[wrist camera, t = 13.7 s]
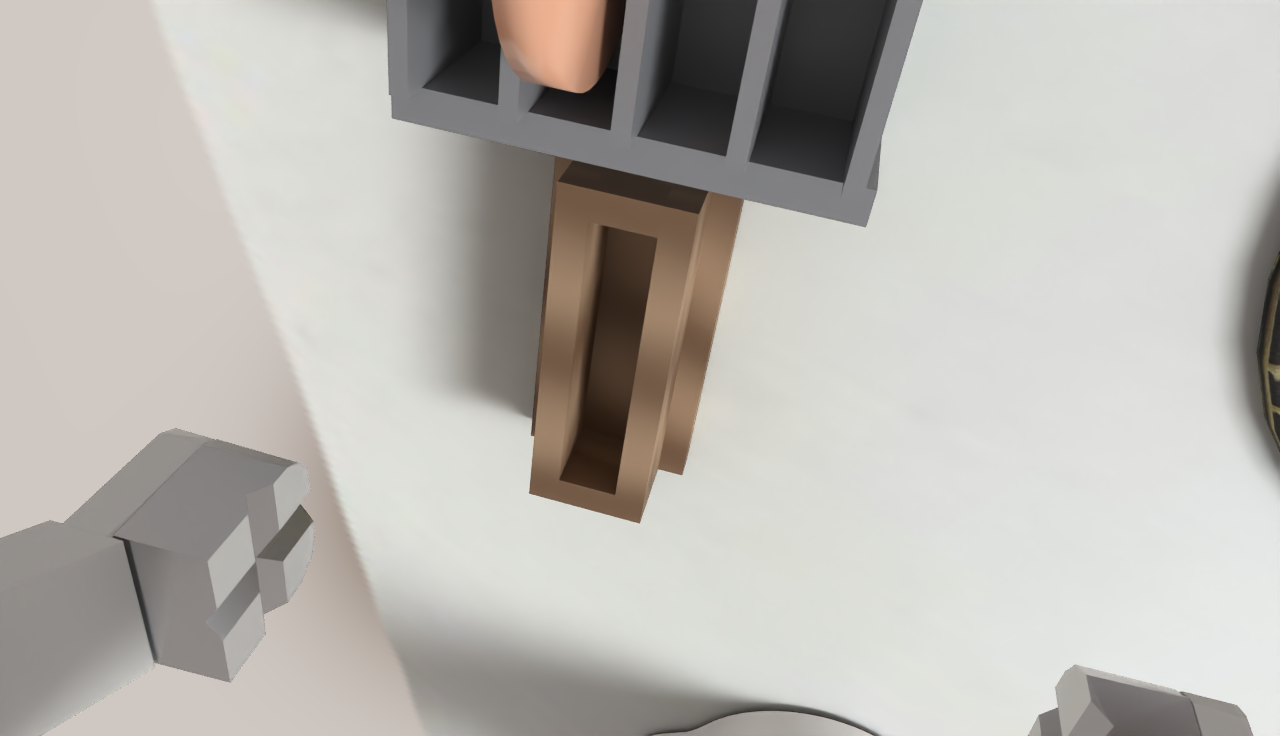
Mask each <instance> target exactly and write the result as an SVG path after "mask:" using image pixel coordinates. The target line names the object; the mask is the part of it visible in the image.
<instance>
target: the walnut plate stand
mask: <svg viewBox="0 0 1280 736" xmlns="http://www.w3.org/2000/svg"><path fill="white" fill-rule="evenodd" d="M743 202H744V199H741V198H736V197H732V196H728V195H723V194H719V193H715V192H710V191H706V190H702V189H697V188H693V187H689V186H684V185H680V184H675V183H671V182H667V181H662V180H658V179H654V178H649V177H645V176H641V175H636V174H632V173H628V172H623V171H619V170H615V169H610V168H606V167H602V166H597V165H593V164H589V163H584V162H580V161H575V160H571V159H567V158H562V157H558V156H556V157H555V168H554V180H553V191H552V202H551V214H550V225H549V237H548V248H547V259H546V271H545V282H544V294H543V305H542V316H541V328H540V339H539V351H538V362H537V374H536V385H535V396H534V408H533V419H532V431H531V436H534V447H533V458H532V469H531V480H530V491H529V494H533V495H537V496H540V497H544V498H548V499H551V500H555V501H559V502H563V503H566V504H570V505H574V506H577V507H581V508H585V509H588V510H592V511H596V512H599V513H603V514H607V515H611V516H614V517H618V518H622V519H625V520H629V521H633V522H636V523H640V521H641V518H642V515H643V512H644V509H645V506H646V503H647V500H648V497H649V494H650V491H651V488H652V485H653V482H654V479H655V476H656V473H657V470H658V469H660V470H664V471H668V472H672V473H675V474H679V475H682V474H683V470H684V467H685V464H686V460H687V456H688V451H689V447H690V442H691V438H692V433H693V429H694V424H695V420H696V415H697V411H698V406H699V401H700V397H701V392H702V388H703V383H704V379H705V374H706V370H707V365H708V361H709V356H710V352H711V347H712V343H713V338H714V333H715V329H716V324H717V320H718V315H719V311H720V306H721V302H722V297H723V293H724V288H725V284H726V279H727V274H728V270H729V265H730V261H731V256H732V252H733V247H734V243H735V238H736V234H737V229H738V225H739V220H740V216H741V211H742V206H743Z"/></svg>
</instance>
